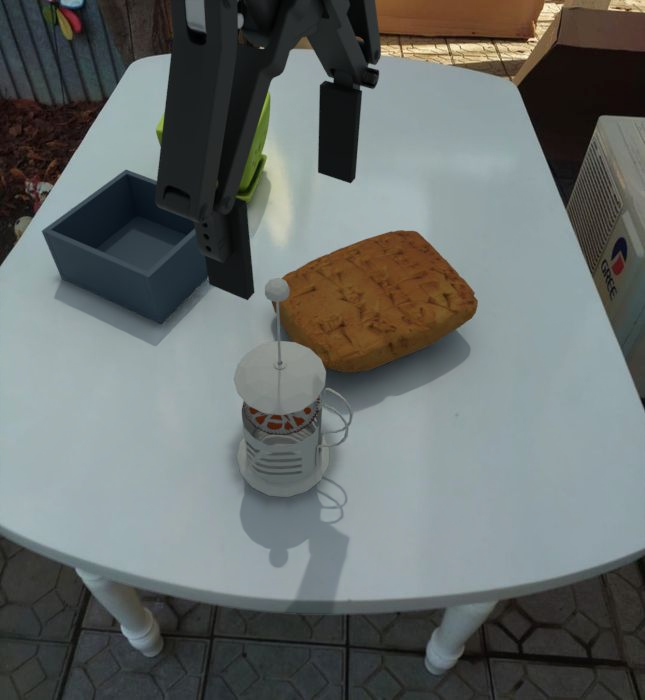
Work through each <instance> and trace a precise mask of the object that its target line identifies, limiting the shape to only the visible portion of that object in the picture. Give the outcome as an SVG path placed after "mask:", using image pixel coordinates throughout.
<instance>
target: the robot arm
mask: <svg viewBox="0 0 645 700" xmlns="http://www.w3.org/2000/svg"><path fill="white" fill-rule="evenodd" d="M169 2H170V12H171V13H170V14H171V25H172V33H173V34H172V41H171V42H172V44H171V51H170V60H169V69H168V79H167V88H166V89H167V90H166V95H165V105H164V112H165V114H164V113H163V114H164V122H163V131H162V140H161V146H160V149H159V159H158V160H159V161H158V168H157V176H156V177H157V178H156V181H157V185H156V194H155V202H156V205H157V206H158V207H159V208H161V209H164V210H167V211H169V212H172V213H174V214H177V215H180V216H182V217H185V218H187V219H190V220H193V221H194V227H195V233H196V238H197V244H198V249H199V251H200V252H201V254H202V255H205V260H206V266H207V272H208V277H207V279H208V283H209V286H212V287H215V288H217V289H219V290H222V291H224V292H226V293H229V294H231V295H234V296H236V297H239V298H240V299H243V300H245V301H249V299H250V298H251V297H252V296H253V295H254V294H255V282H254V272H253V261H252V252H251V251H252V250H251V240H250V239H251V237H250V227H249V215H248V206H247V204H248V203H246V201H244V200H242V199H239V198H236V196H237V193H238V190H239V186H240V183H241V180H242V176H243V173H244V170H245V166H246V163H247V160H248V156H249V153H250V150H251V146H252V143H253V140H254V136H255V133H256V130H257V126H258V123H259V120H260V116H261V113H262V110H263V106H264V103H265V100H266V96H267V93H268V92H269V90H270V86H271V83H272V81H273V80H274V78H277V77H279V76H281V75H282V74H283V73H284V71H285V69H286V65H287V62H288V59H289V56H290V53H291V51H292V50H293V49H295V48H296V46H297V45H298V44H299V42H300V41H302V38H306V39H307V41H308V42H309V44H310V47H311V48H312V50H313V52H314V53H315V55H316V57H317V59H318V61H319V62H320V64H321V66H322V68H323V70H324V72H325V73H326V75H327V76H328V78H330V79H333V81H328V80H324V81H323V82H322V83H320V84H319V98H318V99H319V101H318V143H317V144H318V149H317V150H318V151H317V152H318V153H317V173H318V174H321V175H324V176H326V177H330V178H333V179H335V180H338V181H342V182H345V183H348V184H352V183H353V182H354V181H355V180H356V177H357V176H356V175H357V164H358V163H357V162H358V152H359V151H358V149H359V138H360V137H359V136H360V125H361V124H360V123H361V112H362V111H361V110H362V97H363V90H361V87H363V88H368V89H370V90H374V89H375V88H376V87H377V85H378V82H379V79H380V70H379V69H376V68H373V67H369V65H374V66H376V65H377V64H378V63H379V61H380V59H381V56H382V44H381V37H380V29H379V21H378V12H377V5H376V0H170V1H169ZM240 31H241V33H242V34H243V35H244V37H245V39H246V40H247V41H248V42H249V43H250V44H251V45H248V44H244V43H240V42H238V40H239V35H240ZM358 38H360V39H358ZM252 45H253V46H252ZM255 46H256V47H255ZM217 180H218V186H217Z"/></svg>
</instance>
